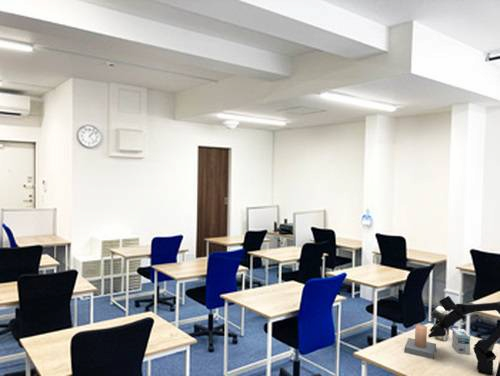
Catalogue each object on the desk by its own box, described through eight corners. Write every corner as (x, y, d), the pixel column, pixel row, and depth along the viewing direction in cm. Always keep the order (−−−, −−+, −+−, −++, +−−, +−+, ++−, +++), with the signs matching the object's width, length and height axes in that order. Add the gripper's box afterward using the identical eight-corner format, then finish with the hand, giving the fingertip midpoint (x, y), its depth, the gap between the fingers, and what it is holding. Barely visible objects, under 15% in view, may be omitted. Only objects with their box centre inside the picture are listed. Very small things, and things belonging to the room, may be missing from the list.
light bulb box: (470, 354, 218) (470, 336, 218) (457, 353, 219) (457, 334, 219) (463, 346, 229) (464, 328, 228) (451, 345, 230) (452, 327, 230)
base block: (435, 348, 225) (436, 343, 225) (433, 359, 212) (433, 353, 212) (408, 342, 232) (408, 337, 232) (404, 352, 219) (404, 347, 219)
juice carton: (432, 338, 239) (433, 308, 238) (436, 334, 246) (437, 305, 245) (446, 342, 234) (447, 311, 234) (449, 337, 241) (450, 307, 240)
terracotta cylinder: (426, 344, 223) (427, 325, 223) (425, 348, 218) (426, 329, 218) (415, 342, 226) (416, 323, 226) (414, 346, 221) (414, 327, 221)
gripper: (441, 301, 224) (420, 317, 230) (439, 311, 208) (416, 327, 214) (456, 317, 221) (434, 332, 226) (455, 328, 204) (431, 344, 210)
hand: (429, 333), depth 219 cm, fingers open, 9 cm apart
